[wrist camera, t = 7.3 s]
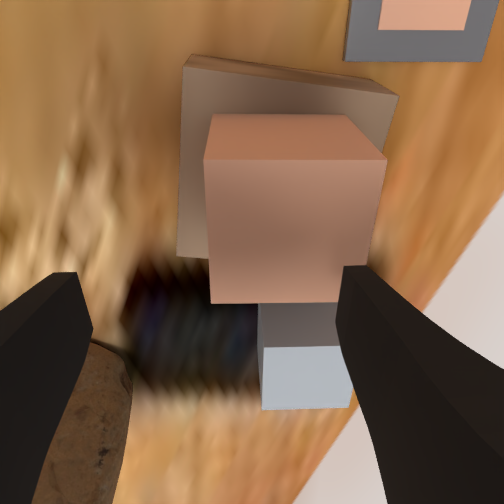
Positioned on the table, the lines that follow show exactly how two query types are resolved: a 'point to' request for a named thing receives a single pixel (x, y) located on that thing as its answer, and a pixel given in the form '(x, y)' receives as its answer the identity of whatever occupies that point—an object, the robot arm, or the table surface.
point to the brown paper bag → (89, 435)
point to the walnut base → (260, 102)
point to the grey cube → (301, 357)
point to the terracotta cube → (287, 205)
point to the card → (418, 30)
